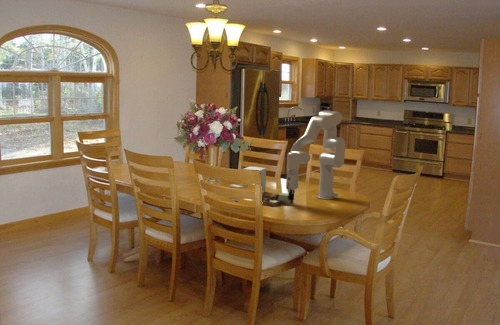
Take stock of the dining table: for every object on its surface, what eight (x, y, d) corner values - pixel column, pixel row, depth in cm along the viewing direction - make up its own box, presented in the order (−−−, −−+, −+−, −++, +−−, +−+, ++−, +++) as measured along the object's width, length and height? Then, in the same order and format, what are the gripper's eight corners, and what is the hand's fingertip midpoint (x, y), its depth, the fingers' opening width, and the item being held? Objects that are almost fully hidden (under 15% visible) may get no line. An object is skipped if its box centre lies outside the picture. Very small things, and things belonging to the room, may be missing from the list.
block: (290, 203, 322) (290, 194, 321) (286, 204, 317) (287, 195, 316) (282, 201, 325) (282, 192, 324) (278, 203, 320) (278, 194, 319)
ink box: (243, 204, 315) (243, 186, 313) (237, 205, 312) (238, 187, 310) (233, 201, 321) (234, 183, 319) (228, 202, 317) (228, 184, 316)
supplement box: (248, 189, 359) (249, 166, 356) (265, 191, 354) (266, 167, 351) (241, 193, 347) (242, 168, 344) (258, 195, 342) (259, 170, 339)
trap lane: (297, 200, 329) (298, 193, 329) (282, 207, 308) (283, 200, 308) (266, 196, 340) (267, 189, 339) (250, 202, 319) (250, 195, 318)
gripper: (293, 174, 307) (292, 202, 310) (302, 170, 320) (300, 198, 323) (282, 172, 311) (281, 201, 313) (291, 169, 324) (290, 196, 327)
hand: (291, 199), depth 318 cm, fingers closed
